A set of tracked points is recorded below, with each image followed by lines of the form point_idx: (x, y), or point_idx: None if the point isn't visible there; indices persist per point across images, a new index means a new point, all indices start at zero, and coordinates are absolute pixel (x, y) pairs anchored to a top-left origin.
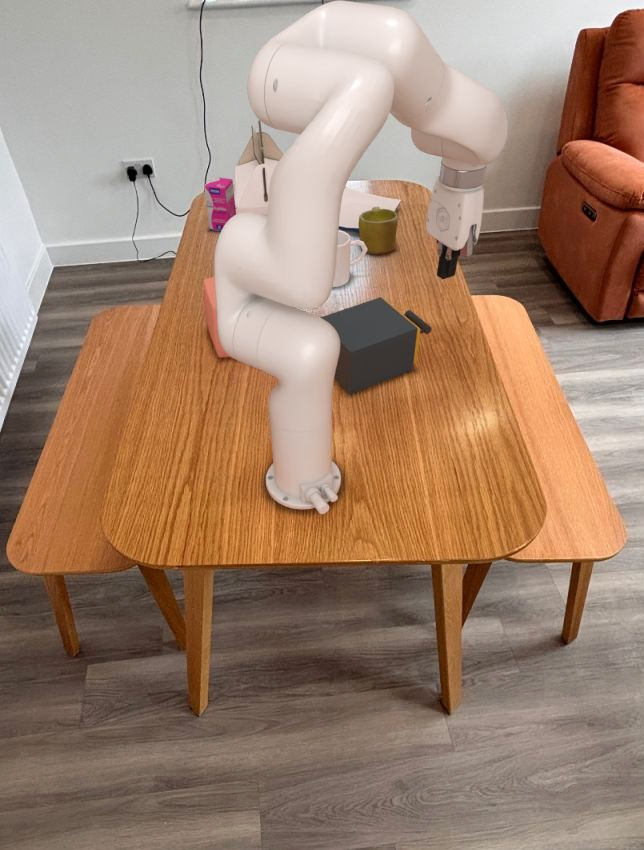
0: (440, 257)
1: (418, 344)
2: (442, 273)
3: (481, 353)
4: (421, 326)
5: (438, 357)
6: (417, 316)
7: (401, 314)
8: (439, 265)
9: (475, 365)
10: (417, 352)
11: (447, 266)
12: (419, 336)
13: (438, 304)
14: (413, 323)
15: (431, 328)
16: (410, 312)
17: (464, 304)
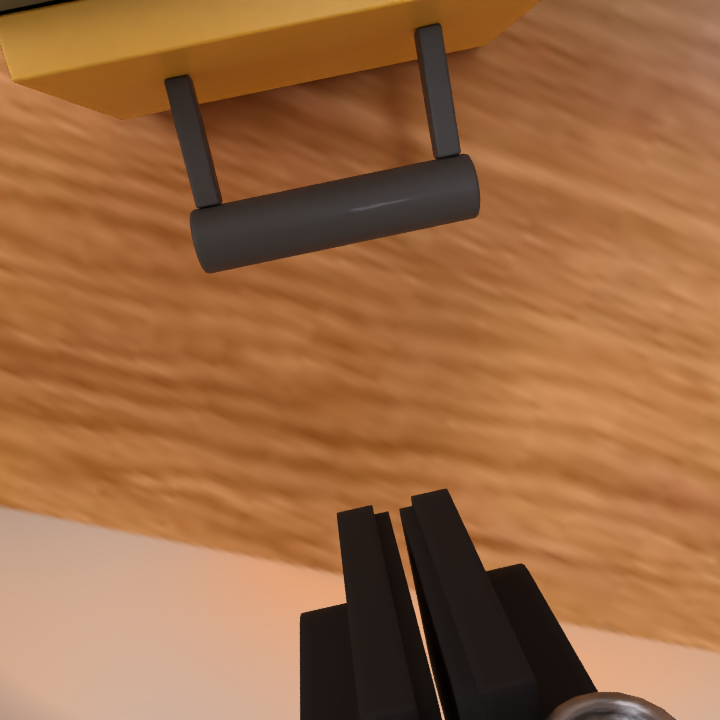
0: (497, 680)
1: (72, 102)
2: (341, 552)
3: (151, 531)
4: (245, 203)
5: (182, 296)
6: (366, 220)
7: (307, 4)
8: (452, 580)
9: (54, 458)
10: (95, 110)
11: (346, 680)
12: (42, 91)
13: (659, 503)
14: (121, 54)
15: (207, 272)
16: (438, 187)
17: (598, 626)
